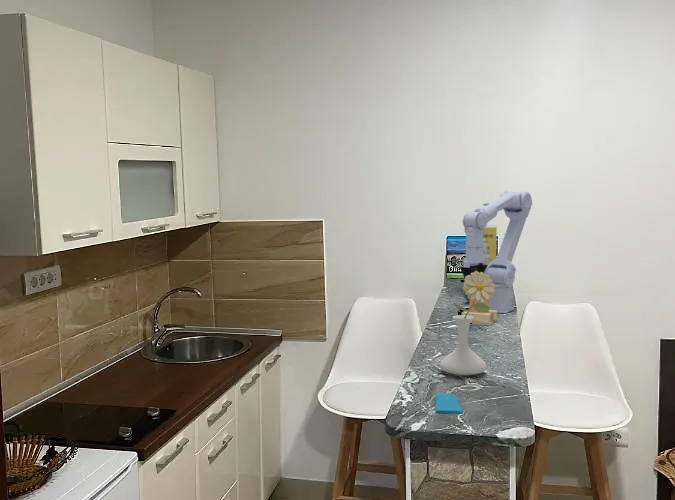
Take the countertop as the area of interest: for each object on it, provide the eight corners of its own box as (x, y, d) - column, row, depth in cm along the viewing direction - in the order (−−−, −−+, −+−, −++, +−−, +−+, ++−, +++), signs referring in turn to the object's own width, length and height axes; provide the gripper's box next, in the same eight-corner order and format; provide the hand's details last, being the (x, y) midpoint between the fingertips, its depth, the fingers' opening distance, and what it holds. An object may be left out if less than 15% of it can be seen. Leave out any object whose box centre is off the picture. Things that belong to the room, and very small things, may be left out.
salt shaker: (462, 304, 267) (462, 273, 266) (464, 302, 273) (464, 271, 272) (478, 305, 265) (478, 273, 264) (479, 302, 271) (480, 271, 270)
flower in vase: (439, 378, 168) (440, 273, 165) (439, 366, 179) (439, 267, 177) (495, 380, 166) (497, 274, 164) (491, 367, 177) (493, 268, 175)
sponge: (461, 394, 154) (435, 390, 155) (464, 412, 142) (435, 407, 143) (461, 400, 154) (434, 396, 155) (463, 419, 142) (434, 414, 143)
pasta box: (470, 290, 301) (471, 224, 298) (495, 291, 298) (496, 225, 296) (468, 297, 283) (469, 227, 280) (495, 298, 281) (496, 227, 278)
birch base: (471, 318, 240) (471, 308, 240) (497, 320, 236) (497, 310, 235) (461, 323, 233) (461, 312, 232) (488, 325, 228) (488, 315, 228)
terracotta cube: (474, 309, 237) (474, 294, 237) (489, 310, 235) (489, 296, 234) (469, 312, 233) (469, 297, 232) (484, 313, 230) (484, 298, 230)
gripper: (470, 245, 249) (470, 283, 250) (455, 247, 237) (454, 288, 238) (490, 246, 246) (489, 284, 247) (475, 248, 233) (474, 289, 234)
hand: (473, 286), depth 242 cm, fingers open, 7 cm apart
